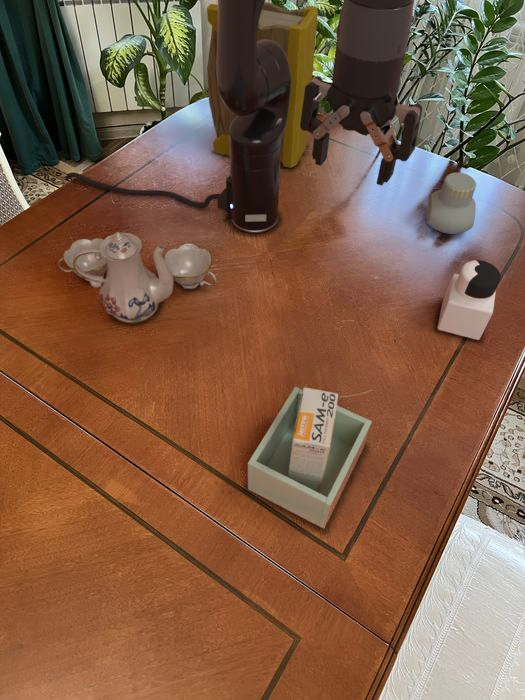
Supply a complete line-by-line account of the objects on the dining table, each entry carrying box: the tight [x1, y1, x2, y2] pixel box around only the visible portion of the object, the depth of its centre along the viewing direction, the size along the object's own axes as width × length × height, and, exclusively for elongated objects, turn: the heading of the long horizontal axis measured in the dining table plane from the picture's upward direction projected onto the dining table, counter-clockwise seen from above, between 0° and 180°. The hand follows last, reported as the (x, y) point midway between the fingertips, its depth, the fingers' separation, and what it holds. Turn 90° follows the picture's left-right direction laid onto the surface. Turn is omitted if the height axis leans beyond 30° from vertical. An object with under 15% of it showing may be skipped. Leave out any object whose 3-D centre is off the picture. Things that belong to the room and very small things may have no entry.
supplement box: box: [288, 387, 339, 493], centre depth 75 cm, size 8×5×13 cm, turn 168°
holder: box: [247, 386, 373, 530], centre depth 78 cm, size 12×14×8 cm
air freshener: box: [425, 172, 477, 235], centre depth 111 cm, size 11×8×10 cm
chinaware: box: [57, 231, 218, 324], centre depth 96 cm, size 28×17×17 cm, turn 91°
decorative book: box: [206, 1, 319, 169], centre depth 118 cm, size 20×11×30 cm, turn 69°
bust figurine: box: [437, 259, 502, 341], centre depth 94 cm, size 7×7×12 cm
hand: (350, 171), depth 74 cm, fingers open, 8 cm apart
